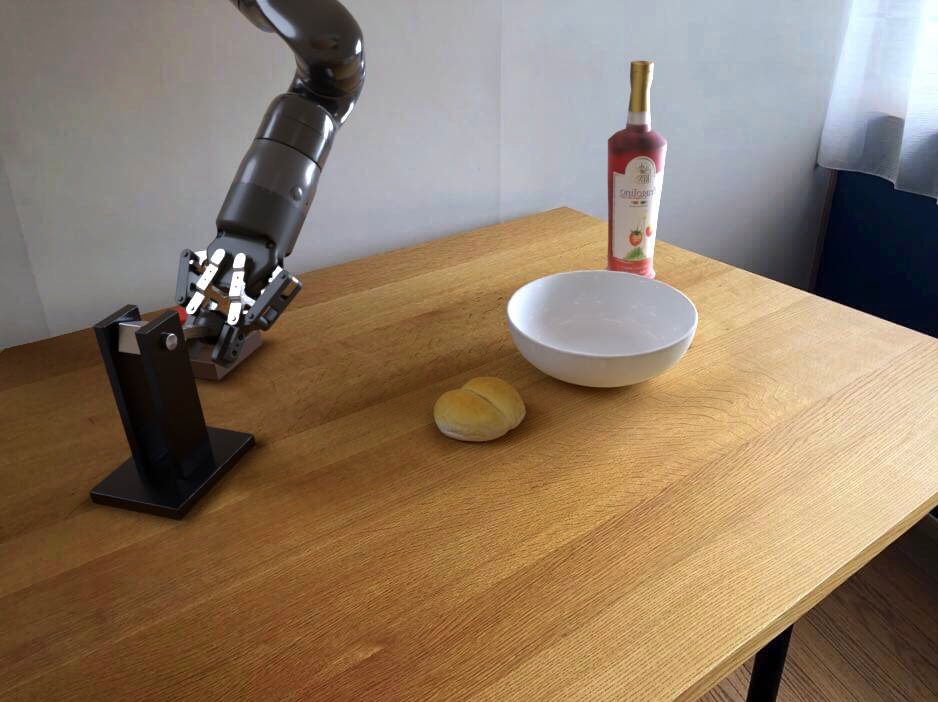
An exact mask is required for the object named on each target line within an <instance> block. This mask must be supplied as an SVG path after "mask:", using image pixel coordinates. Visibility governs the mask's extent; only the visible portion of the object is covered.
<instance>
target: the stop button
mask: <svg viewBox="0 0 938 702" xmlns="http://www.w3.org/2000/svg"><path fill="white" fill-rule="evenodd" d="M173 310H175V311H178V312H179V316H180V321H181V325H182V326H184V324H185V322H186V319H187V316H188V313H187V311H186V310H185V309H184V308H183V307H182V306H180V307H177V308H174V309H173Z"/></svg>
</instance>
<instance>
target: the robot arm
mask: <svg viewBox="0 0 938 702" xmlns="http://www.w3.org/2000/svg"><path fill="white" fill-rule="evenodd" d="M228 1H229V2H230V3H231V5H233V6H234V8H235V9H236V10H237V11H238V12H239V13H241V15H243V17H244V18H245V19H246V20H247V21H249V22H250V23H251V24H252V25H253V26H254V27H256V28H257V29H259V30H260V31H262V32H265V33H267V34H268V33H269V34H276V35H277V36H279V37H280V39H282V40H283V42H284V43H285V44H286V45H287V46H288V48H289V49H290V50H291V52H292V53H293V56H294V60H295V64H296V67H295V72H294V75H293V78H292V80H291V83H290V84H289V86H288V89H287V90H286V92H285V93H284V92H283V93H280V94H278V95H276V96H275V97H274V98H273V99H272V100H271V101H270V103H269V105H268V106H267V108H266V110H265V112H264V114H263V117H262V119H261V121H260V124H259V126H258V128H257V131H256V133H255V136H254V138H253V140H252V143H251V144H250V146H249V148H248V150H247V151H246V153H245V154H244V156H243V158H242V159H241V160H240V163H239V166H238V167H237V170H236V173H235V175H234V178H233V180H232V181H231V182H232V183H231V184H230V186H229V189H228V191H227V193H226V196H225V198H224V200H223V203H222V205H221V208H220V210H219V211H218V214H217V216H216V219H215V226H216V236H215V237H214V239H213V241H212V242H210V243H209V244H208V246H207V248H206V250H201V251H196V252H194V251H192V250H191V249H190V248H184V249H183V250H182V251H181V252H180V254H179V262H178V271H177V272H178V273H177V278H176V279H177V280H176V289H175V297H174V302H175V304H176V305H178V306H180V307H183V308H184V309H185V310H186V311H187V313H188V316H187V319H186V322H185V324H184V326H185V325H193V324H195V321H196V319H197V317H198V316H199V315H200V314H201V313H203V312H205V311H207V310H212V309H216V310H221V307H222V306H227V305H228V303H229V302H230V306H229V311H228V323H229V325H225V324H224V327H223V329H222V332H221V334H220V336H219V339H218V341H217V344H216V346H215V348H214V351H213V353H212V356H211V361H212V362H213V363H215V364H217V365H219V366H221V367H224V368H230V367H231V366H232V364H234V363H235V362H236V360H237V359H238V357H239V353H240V352H241V349H242V347H243V344H244V342H245V340H246V337H247V335H248V334H250V333H251V332H252V331H255V330H260V331H262V332H268V331H270V329H271V328H272V327H273V325H274V324H275V323H276V322H277V321H278V319H279V318H280V316H281V315H282V314H283V313H284V311H285V310H286V309H287V308H288V307H289V305H290V304H291V303H292V301H293V300H294V299H295V298H296V296H297V295H298V294H299V293H300V292H301V290H302V289H303V285H304V284H303V282H302V281H301V280H300V279H299V278H297V277H296V276H294V275H293V274H292V273H290V272H289V271H288V270H287V269H285V258H288V257H290V256H291V255H292V253H293V250H294V248H295V246H296V243H297V241H298V238H299V237H300V234H301V232H302V229H303V226H304V224H305V221H306V219H307V216H308V214H309V212H310V210H311V207H312V204H313V201H314V199H315V196H316V194H317V191H318V186H319V181H320V178H321V175H322V173H323V171H324V168H325V165H326V163H327V160H328V157H329V156H330V153H331V150H332V148H333V145H334V142H335V139H336V136H337V134H338V133H339V132H340V130H341V129H342V127H343V126H344V124H345V122H346V121H347V120H348V118H349V116H350V115H351V113H352V111H353V109H354V108H355V106H356V105H357V102H358V101H359V98H360V97H361V93H362V90H363V88H364V85H365V81H366V76H367V60H366V46H365V45H366V44H365V36H364V33H363V31H362V28H361V26H360V24H359V23H358V20H357V19H356V18H355V17H354V15H353V14H352V13H351V11H350V10H349V9H348V8H347V7H346V6H345V5H344V4H343V3H342V2H341V1H339V0H228ZM213 287H214V288H215V289H217V290H218V291H215V290H213ZM208 299H209V300H208ZM206 302H207V303H206ZM205 304H206V305H205ZM204 305H205V306H204ZM185 341H186V345H187V349H188V353H189V357H190V358H192V359H196V358H197V357H198V355H199V353H200V351H201V348H202V346H203V343H201V342H200V341H199V340H198V338H197V337H195V338H187V339H185Z"/></svg>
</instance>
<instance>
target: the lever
mask: <svg viewBox="0 0 938 702" xmlns="http://www.w3.org/2000/svg"><path fill="white" fill-rule="evenodd" d="M228 315H229V313H227V312H225V311H223V310H221V309H219V310H216V309H212V310H207V311H205V312H203V313H201V314H200V315H199V316H198V317H197V319H196V321H195V324H193V325H185V326H182V329H183V333H184V337H185V339H187V338H195V337H197V338H198V340H199V341H200V342H201V343H203V344H204V345H206V346H209V347H215V346H216V344H217V341H218V339H219V336H220V334H221V332H222V329H223V327H224V324H225V325H229V323H228ZM149 322H150V321H147V320H142V321H135V322H124V323H119V352H125V353H132V354H138V355H141V354H140V351H139V347H138V344H137V340H136V337H135V333H134V332H136V331H137V330H139V329H140V328H142V327H143V326H145V325H146V324H148V323H149Z"/></svg>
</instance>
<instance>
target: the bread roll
mask: <svg viewBox="0 0 938 702" xmlns="http://www.w3.org/2000/svg"><path fill="white" fill-rule="evenodd" d="M526 413H527V410H526V406H525V404H524V400H523V398H522V397H521V395H520V393H519V392H518V391H517V390H516V388H514V386H512V385H511V384H510V383H508V382H507V381H505V380H504V379H502V378H499V377H496V376H495V377H494V376H479V377H474V378H472V379H470V380H469V381H467V382H466V383H465V384H464V385H462V387H461V388H459V389H452V390H451V389H450V390H448V391H446V392H444V393H443V394H442V395H440V397H438V399H437V400H436V402H435V404H434V407H433V419H434V421H435V424H436V426H437V428H438V429H439V430H440V433H442V434H443V435H445V436H446V437H449V438H451V439H454V440H458V441H463V442H464V441H466V442H487V441H488V442H489V441H493V440H495V439H499V438H500V437H502V436H504V435H506V434H507V433H508V432H509V431H511V430H514V429H516V428H517V427H518V426H519V425H520V424H521V423H522V421H523V420H524V418H525V416H526Z"/></svg>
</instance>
